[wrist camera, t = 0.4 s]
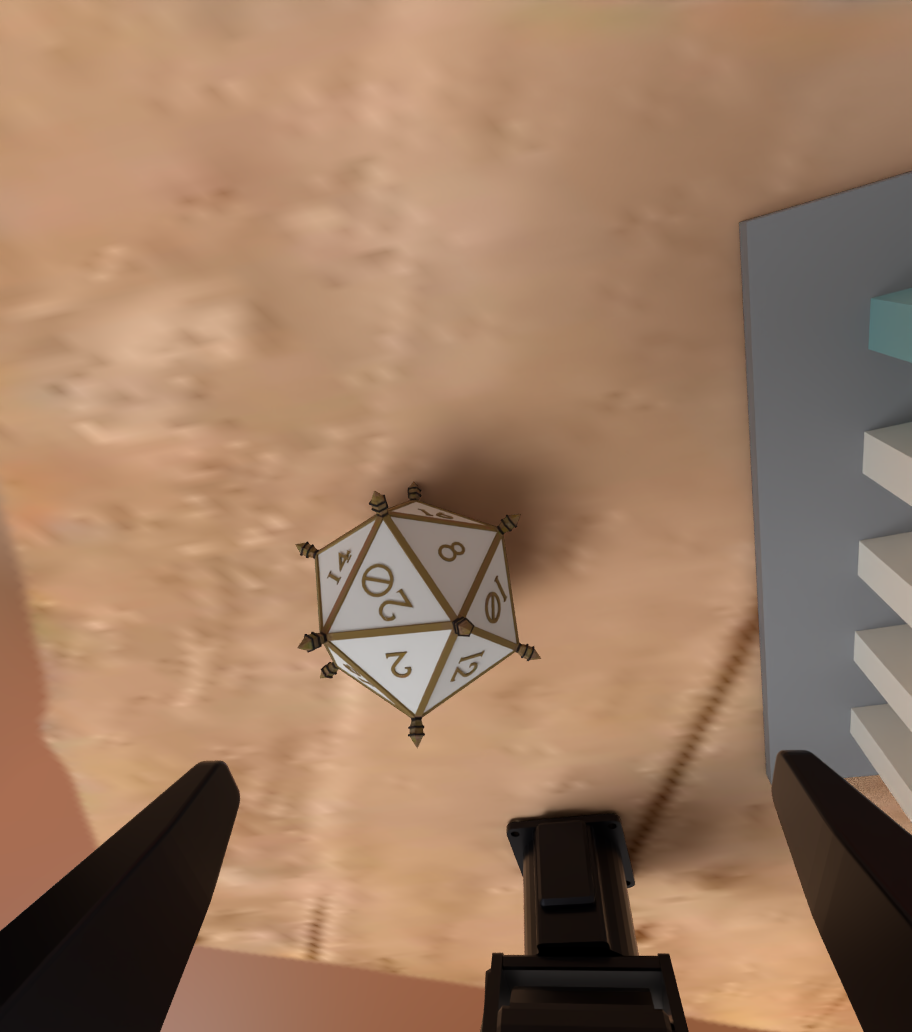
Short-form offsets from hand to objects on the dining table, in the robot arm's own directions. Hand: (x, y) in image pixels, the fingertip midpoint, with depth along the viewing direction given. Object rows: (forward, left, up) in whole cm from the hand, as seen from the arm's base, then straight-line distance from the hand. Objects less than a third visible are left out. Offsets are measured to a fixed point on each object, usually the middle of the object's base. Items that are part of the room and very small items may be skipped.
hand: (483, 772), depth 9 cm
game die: (-3, +4, -14) cm, 15 cm away
